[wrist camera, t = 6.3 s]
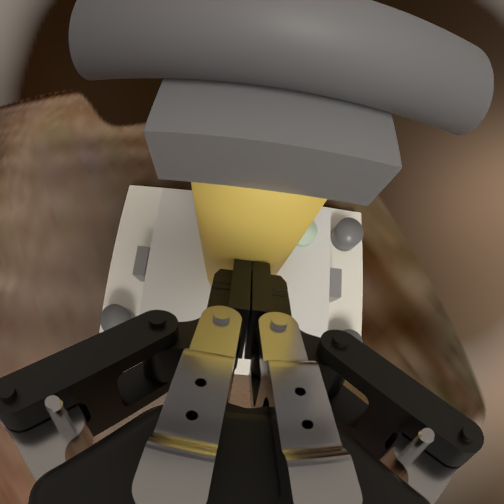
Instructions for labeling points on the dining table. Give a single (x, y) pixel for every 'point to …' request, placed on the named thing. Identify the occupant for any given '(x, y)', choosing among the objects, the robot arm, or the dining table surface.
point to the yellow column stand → (272, 125)
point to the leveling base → (138, 247)
